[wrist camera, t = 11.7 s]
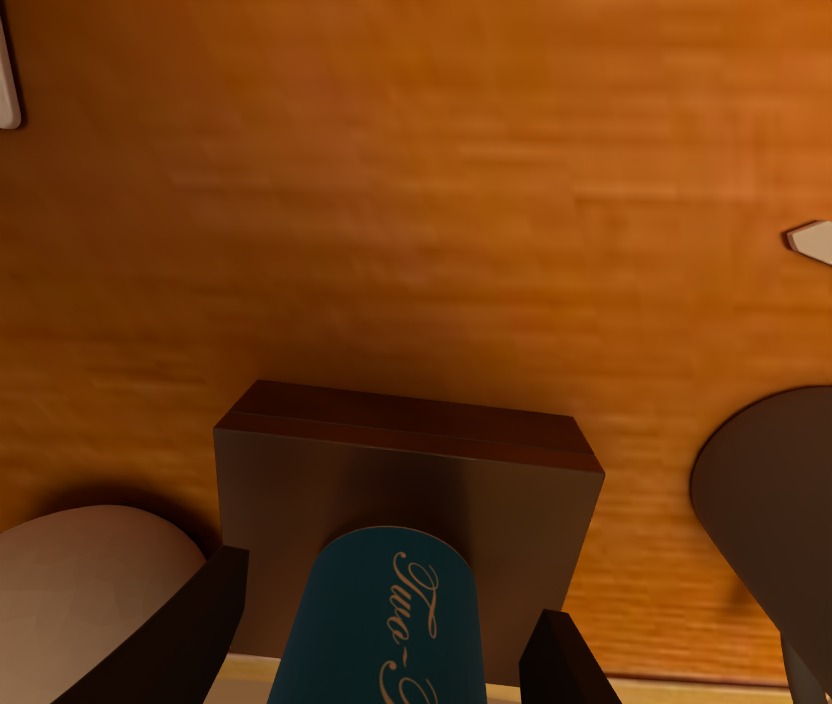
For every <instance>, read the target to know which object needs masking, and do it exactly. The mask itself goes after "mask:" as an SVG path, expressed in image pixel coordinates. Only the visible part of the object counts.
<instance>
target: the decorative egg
mask: <svg viewBox="0 0 832 704" xmlns="http://www.w3.org/2000/svg"><path fill="white" fill-rule="evenodd" d="M206 562H207V561H206V559H205V557H204V555H203V554H202V552H201V551H200V549H199V548H198V546H197V545H196V544H195V543H194V542H193V541H192V540H191V539H190V538H189V537H188V536H187V535H186V534H185V533H184V532H183V531H182V530H180V529H179V528H178V527H177V526H175V525H174V524H173V523H171V522H169V521H167V520H165V519H163V518H161V517H159V516H157V515H155V514H152V513H150V512H147V511H145V510H142V509H138V508H134V507H128V506H121V505H96V506H87V507H81V508H76V509H70V510H65V511H60V512H56V513H53V514H49V515H46V516H43V517H39V518H36V519H33V520H31V521H28V522H25V523H23V524H20V525H18V526H15V527H13V528H11V529H9V530H6V531H4V532H2V533H0V704H50V703H51V702H53V701H54V700H55V699H56V698H58V697H59V696H60V695H61V694H63V693H64V692H65V691H66V690H68V689H69V688H70V687H71V686H72V685H74V684H75V683H76V682H77V681H79V680H80V679H81V678H82V677H83V676H85V675H86V674H87V673H88V672H89V671H91V670H92V669H93V668H94V667H95V666H96V665H97V664H99V663H100V662H101V661H102V660H103V659H104V658H105V657H107V656H108V655H109V654H110V653H111V652H112V651H114V650H115V649H116V648H117V647H118V646H119V645H120V644H122V643H123V642H124V641H125V640H126V639H127V638H128V637H130V636H131V635H132V634H133V633H134V632H135V631H136V630H137V629H138V628H139V627H141V626H142V625H143V624H144V623H145V622H146V621H147V620H148V619H149V618H150V617H151V616H152V615H153V614H154V613H155V612H156V611H157V610H159V609H160V608H161V607H162V606H163V605H164V604H165V603H166V602H167V601H168V600H169V599H170V598H171V597H172V596H173V595H174V594H175V593H176V592H177V591H178V590H179V589H180V588H181V587H182V586H183V585H184V584H185V583H186V582H187V581H188V580H189V579H190V578H191V577H192V576H193V575H194V574H195V573H196V572H197V571H198V570H199V569H200V568H201V567H202V566H203V565H204V564H205V563H206Z"/></svg>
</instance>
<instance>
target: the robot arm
mask: <svg viewBox="0 0 832 704" xmlns="http://www.w3.org/2000/svg"><path fill="white" fill-rule="evenodd" d="M20 123H21V113H20V108H19V103H18V99H17V94H16V89H15V84H14V79H13V75H12V70H11V65H10V60H9V56H8V51H7V46H6V41H5V37H4V32H3V27H2V22H1V17H0V128H4V129H16V128H17V127H18V126H19V125H20ZM249 553H250V550H247V549H242V548H237V547H232V546H227V545H224V546H222V547H220V548H219V549H218V550H217V551H216V552H215V553H214V554H213V555H212V556H211V557H210V559H209V560H208V561H207V562H206V563H205V564H204V565H203V566H202V567H201V568H200V569H199V570H198V571H197V572H196V573H195V574H194V575H193V576H192V577H191V578H190V579H189V580H188V581H187V582H186V583H185V584H184V585H183V586H182V587H181V588H180V589H179V590H178V591H177V592H176V593H175V594H174V595H173V596H172V597H171V598H170V599H169V600H168V601H167V602H166V603H165V604H164V605H163V606H162V607H161V608H160V609H159V610H157V611H156V612H155V613H154V614H153V615H152V616H151V617H150V618H149V619H148V620H147V621H146V622H145V623H144V624H143V625H142V626H141V627H139V628H138V629H137V630H136V631H135V632H134V633H133V634H132V635H131V636H130V637H128V638H127V639H126V640H125V641H124V642H123V643H122V644H120V645H119V646H118V647H117V648H116V649H115V650H114V651H112V652H111V653H110V654H109V655H108V656H107V657H105V658H104V659H103V660H102V661H101V662H100V663H99V664H97V665H96V666H95V667H94V668H93V669H92V670H91V671H89V672H88V673H87V674H86V675H85V676H83V677H82V678H81V679H80V680H79V681H77V682H76V683H75V684H74V685H72V686H71V687H70V688H69V689H68V690H66V691H65V692H64V693H63V694H61V695H60V696H59V697H58V698H56V699H55V700H54V701H53V702H51V703H50V704H203V702H204V700H205V698H206V696H207V694H208V692H209V690H210V688H211V686H212V684H213V682H214V680H215V678H216V676H217V674H218V672H219V670H220V668H221V666H222V664H223V662H224V660H225V658H226V655H227V653H228V650H229V648H230V645H231V643H232V640H233V638H234V635H235V633H236V630H237V627H238V625H239V622H240V620H241V617H242V615H243V612H244V609H245V597H246V586H247V575H248V564H249ZM519 677H520V692H521V703H522V704H622V702H621V701H620V699H619V698H618V696H617V694H616V693H615V691H614V689H613V688H612V686H611V685H610V683H609V681H608V680H607V678H606V676H605V675H604V673H603V671H602V670H601V668H600V666H599V664H598V663H597V661H596V659H595V658H594V656H593V654H592V653H591V651H590V649H589V648H588V646H587V644H586V642H585V641H584V639H583V637H582V636H581V634H580V632H579V631H578V629H577V627H576V626H575V624H574V622H573V621H572V619H571V617H570V616H569V614H568V613H565V612H560V611H555V610H550V609H545V608H544V609H543V611H542V613H541V615H540V617H539V619H538V622H537V624H536V626H535V628H534V630H533V632H532V635H531V637H530V639H529V641H528V643H527V645H526V648H525V650H524V652H523V654H522V656H521V658H520V660H519Z"/></svg>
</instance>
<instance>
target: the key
mask: <svg viewBox="0 0 832 704" xmlns="http://www.w3.org/2000/svg"><path fill="white" fill-rule="evenodd" d="M787 237H788V241H789V243H790V246H791V248H792V249H793V250H794V251H796V252H799V253H801V254H804V255H806V256H809V257H811V258H814V259H816V260H819V261H821V262H824V263H826V264H829V265H831V266H832V222H831V221H826V220H820V221H818V222H815V223H812V224H809V225H807V226H804V227H802V228H799V229H797V230H794V231H791V232H789V233H787Z"/></svg>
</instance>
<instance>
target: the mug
mask: <svg viewBox="0 0 832 704" xmlns="http://www.w3.org/2000/svg"><path fill="white" fill-rule="evenodd" d="M691 494H692V500H693V505H694V509H695V511H696V514H697V516H698V518H699V520H700V522H701V523H702V525H703V527H704V529H705V530H706V532H707V533H708V535H709V536H710V538H711V539H712V540H713V542H714V543H715V545H716V546H717V548H718V549H719V550H720V552H721V553H722V555H723V556H724V557H725V559H726V560H727V562H728V563H729V564H730V566H731V567H732V568H733V570H734V571H735V572H736V574H737V575H738V576H739V578H740V579H741V580H742V582H743V583H744V585H745V586H746V587H747V589H748V590H749V591H750V593H751V594H752V595H753V597H754V598H755V599H756V601H757V602H758V603H759V605H760V606H761V607H762V609H763V610H764V611H765V613H766V614H767V615H768V616H769V618H770V619H771V620H772V622H773V623H774V624H775V626H776V627H777V628H778V630H779V631H780V635H781V646H782V652H783V659H784V665H785V670H786V675H787V680H788V684H789V689H790V693H791V696H792V700H793V704H828V702H827V699H826V695H825V691H826V693H827V694H828V695H829V697H830V698H831V699H832V387H815V388H806V389H799V390H794V391H790V392H786V393H783V394H779V395H776V396H774V397H771V398H768V399H766V400H764V401H761V402H759V403H757V404H755V405H753V406H752V407H750V408H748V409H746V410H745V411H743V412H741V413H740V414H738V415H737V416H736V417H734V418H733V419H732V420H730V421H729V422H728V423H727V424H726V425H724V426H723V427H722V428H721V429H720V430H719V431H718V432H717V433H716V434H715V435H714V436H713V438H712V439H711V440H710V441H709V443H708V444H707V445H706V447H705V448H704V450H703V451H702V453H701V455H700V457H699V459H698V461H697V463H696V466H695V469H694V472H693V476H692V483H691ZM824 690H825V691H824Z"/></svg>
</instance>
